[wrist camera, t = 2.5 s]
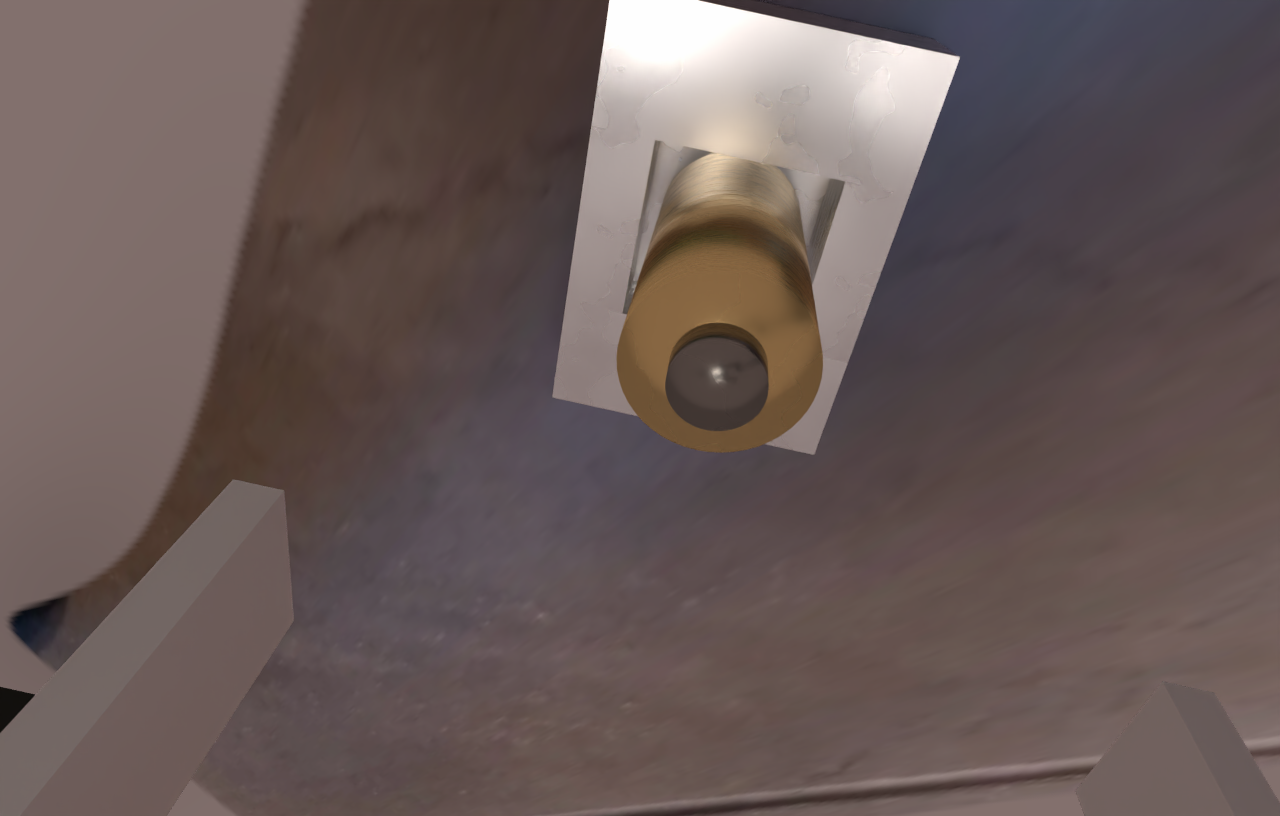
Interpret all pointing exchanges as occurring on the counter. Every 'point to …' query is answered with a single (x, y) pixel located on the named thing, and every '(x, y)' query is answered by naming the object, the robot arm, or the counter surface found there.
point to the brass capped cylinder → (723, 311)
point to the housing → (753, 130)
